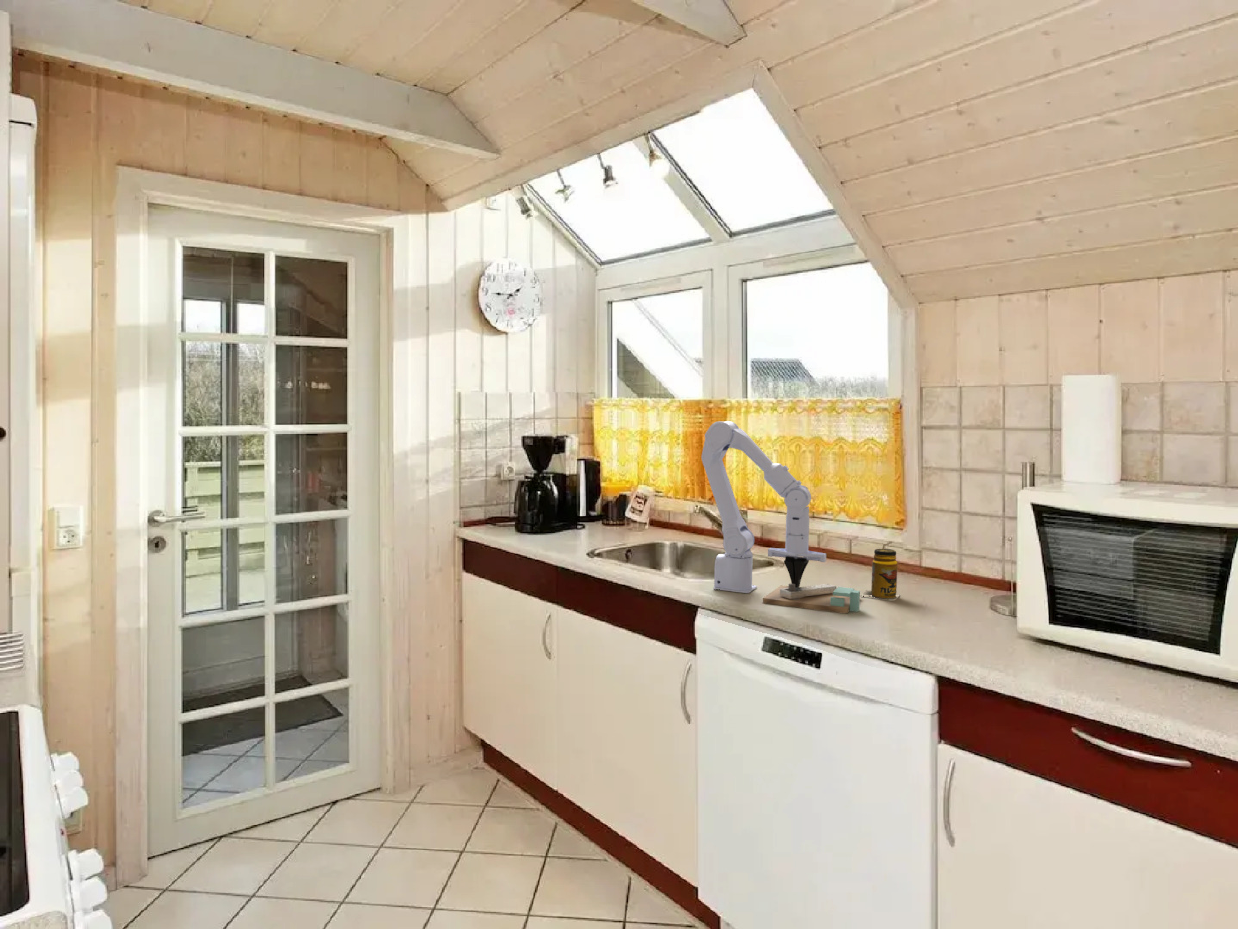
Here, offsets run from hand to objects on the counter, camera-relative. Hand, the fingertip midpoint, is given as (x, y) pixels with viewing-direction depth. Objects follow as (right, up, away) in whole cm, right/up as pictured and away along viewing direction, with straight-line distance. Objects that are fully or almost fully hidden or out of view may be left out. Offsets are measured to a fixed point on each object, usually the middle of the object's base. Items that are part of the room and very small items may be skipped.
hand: (795, 587), depth 199 cm
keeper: (+9, -3, -14) cm, 17 cm away
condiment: (+21, -3, 0) cm, 22 cm away
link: (+2, -1, -5) cm, 6 cm away
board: (+3, -3, -6) cm, 7 cm away
